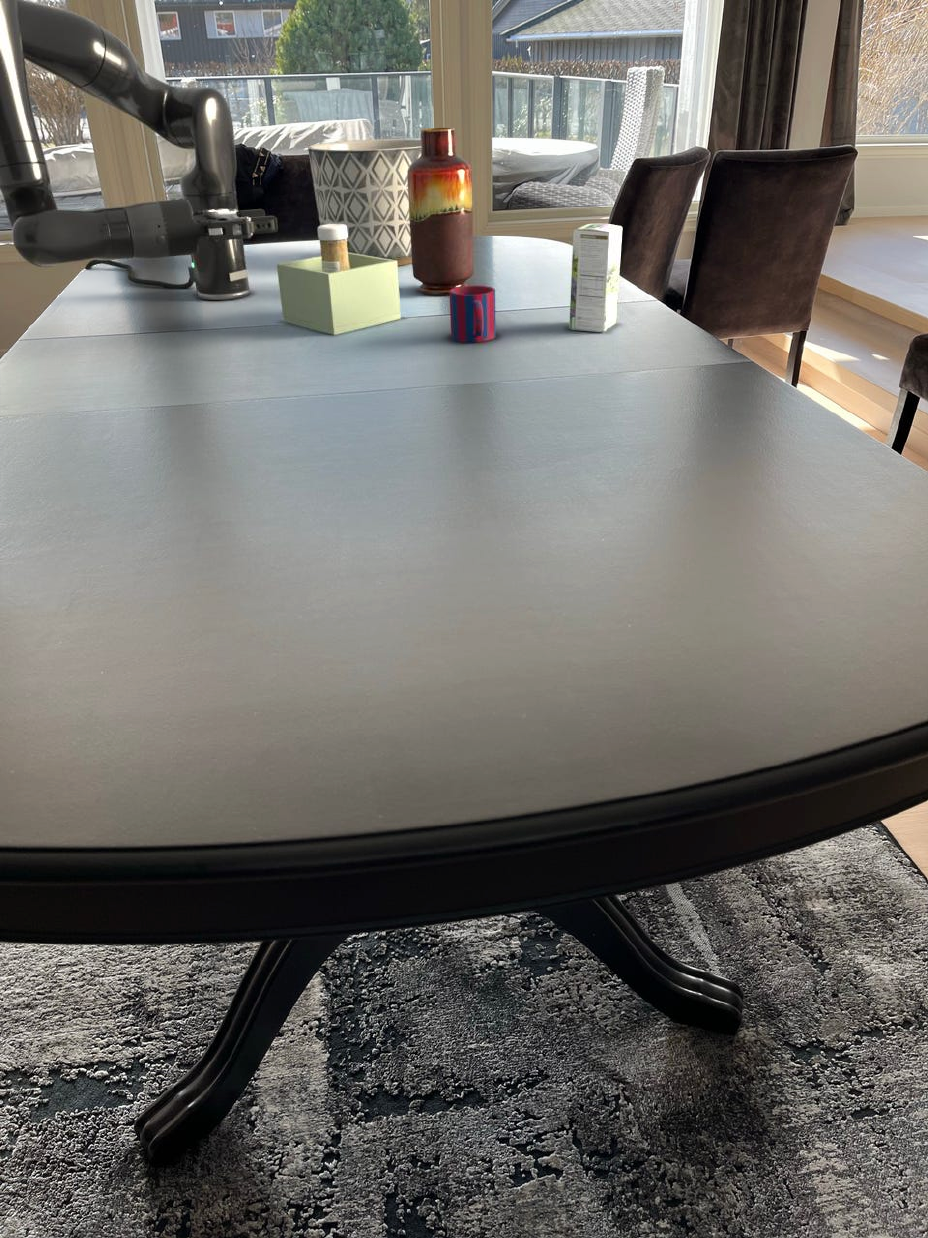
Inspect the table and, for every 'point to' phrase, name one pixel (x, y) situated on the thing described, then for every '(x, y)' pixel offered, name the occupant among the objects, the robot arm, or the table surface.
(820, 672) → the table surface
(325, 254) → the sprinkles bottle
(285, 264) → the open storage bin
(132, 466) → the table surface
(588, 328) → the syrup box
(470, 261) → the vase
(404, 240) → the planter
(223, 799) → the table surface
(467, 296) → the mug
